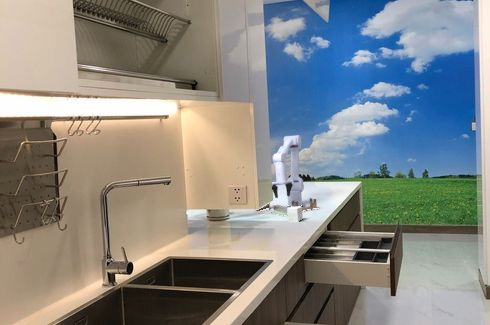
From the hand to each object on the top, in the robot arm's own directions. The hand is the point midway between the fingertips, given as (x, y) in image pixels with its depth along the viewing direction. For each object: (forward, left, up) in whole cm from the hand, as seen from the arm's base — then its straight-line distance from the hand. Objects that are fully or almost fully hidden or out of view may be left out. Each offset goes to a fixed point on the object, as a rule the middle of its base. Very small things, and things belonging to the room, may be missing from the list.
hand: (282, 197), depth 294 cm
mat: (0, -1, -9) cm, 9 cm away
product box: (+28, -7, -10) cm, 31 cm away
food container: (-20, -6, -10) cm, 23 cm away
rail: (0, -1, -8) cm, 9 cm away
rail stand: (+1, +13, -9) cm, 16 cm away
